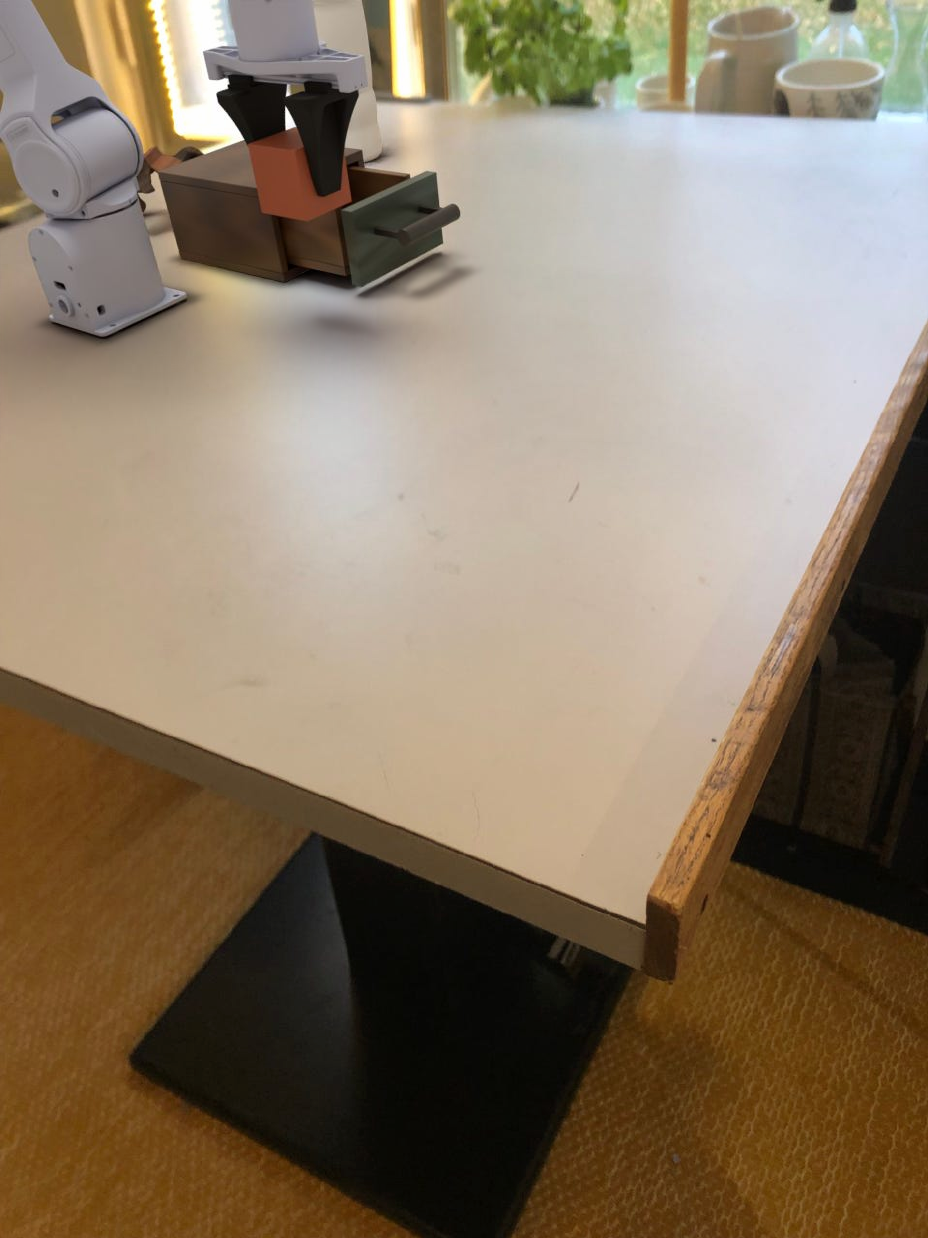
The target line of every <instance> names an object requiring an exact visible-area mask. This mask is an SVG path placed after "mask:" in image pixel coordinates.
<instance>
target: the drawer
mask: <svg viewBox="0 0 928 1238" xmlns="http://www.w3.org/2000/svg"><path fill="white" fill-rule="evenodd" d="M346 167H347V174H348V180H349V187H350V194H351V200H352V201H351V202H349V203H347V204H345V205H343V206H340V207H338V208H336V209H334V210H332V211H329V212H327V213H325V214H323V215H320V216H318V217H316V218H314V219H312V220H309V221H303V220H297V219H292V218H287V217H282V216H278V221H279V226H280V231H281V236H282V241H283V246H284V251H285V256H286V261H287V263H288V264H293V265H297V266H302V267H307V268H311V269H310V270H316V271H320V272H321V271H322V272H326V273H330V274H335V275H338V276H339V275H340V276H344V277H348V276H349V275H350V278H351V284H352V285H353V286H356V287H362V288H363V287H365V286H367V285H369V284H370V283H373V282H374V281H376V280H378V279H380V278H382V277H384V276H386V275H388V274H389V273H391V272H393V271H395V270H397V269H399V268H400V267H403V266H404V265H406V264H408V263H409V262H411V261H414V260H416V259H417V258H419V257H421V256H422V255H425V254H426V253H429V252H430V251H432V250H434V249H435V248H436V249H437V247H439V246H441V245H443V244H444V239H443V228H444V227H446V226H448V225H450V224H452V223H454V222H456V221H458V220H459V219H460V218H461V210H460V207H459V206H458V204H456V203H450V204H448V205H446V206H444V207H441V205H440V195H439V186H438V185H439V184H438V175H437V174H438V173H437V172H436V171H429V170H425V171H423V172H421V173H419V174H416V175H414V176H412V177H411V174H410V173H406V172H398V171H392V170H385V169H378V168H370V167H365V168H364V167H357V166H350V165H346Z"/></svg>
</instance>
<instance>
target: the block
mask: <svg viewBox="0 0 928 1238" xmlns="http://www.w3.org/2000/svg"><path fill="white" fill-rule="evenodd" d="M248 147H249V152H250V157H251V162H252V167H253V172H254V176H255V181H256V186H257V191H258V196H259V200H260V205H261V210H262V213H266V214H271V215H276V216H282V217H287V218H292V219H297V220H303V221H309V220H312V219H314V218H316V217H318V216H320V215H323V214H325V213H327V212H329V211H332V210H334V209H336V208H338V207H340V206H343V205H345V204H347V203H349V202H351V201H352V200H351V194H350V187H349V180H348V174H347V167H346V160H345V154H344V157H343V169H342V183H341V190H339V191H337V192H335V193H332V194H330V195H328V196H325V197H320V196H318V195H317V193H316V190H315V188H314V185H313V182H312V179H311V175H310V171H309V167H308V162H307V157H306V153H305V149H304V146H303V143H302V140H301V138H300V135H299V132H298V130H297V127H296V126H293V127H291V128H288V129H286V130H285V131H282V132H280V133H277V134H274V135H271V136H269V137H266V138H263V139H261V140H258V141H255V142H252V143H250V144H248Z"/></svg>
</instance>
